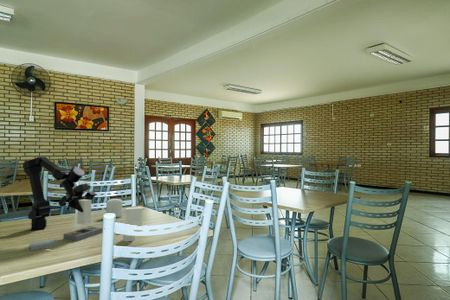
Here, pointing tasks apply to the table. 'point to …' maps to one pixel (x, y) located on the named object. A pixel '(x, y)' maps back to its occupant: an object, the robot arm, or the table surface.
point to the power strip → (82, 233)
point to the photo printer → (114, 207)
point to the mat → (43, 244)
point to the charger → (84, 212)
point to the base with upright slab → (134, 216)
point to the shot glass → (128, 238)
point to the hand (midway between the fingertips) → (86, 211)
